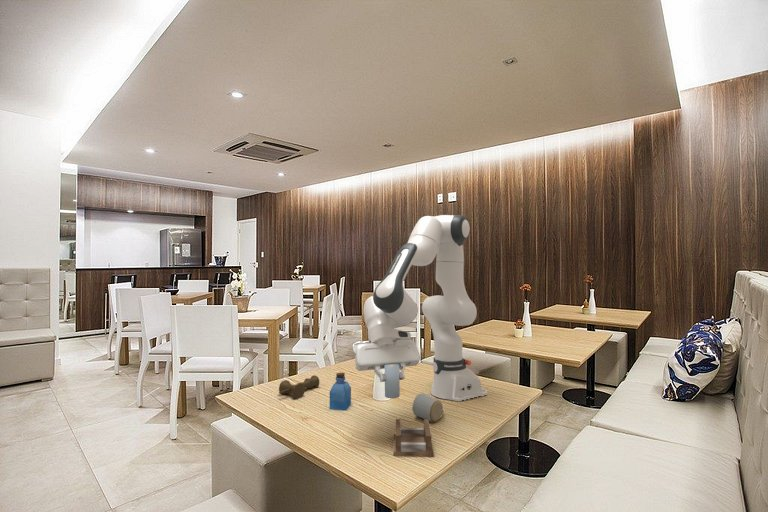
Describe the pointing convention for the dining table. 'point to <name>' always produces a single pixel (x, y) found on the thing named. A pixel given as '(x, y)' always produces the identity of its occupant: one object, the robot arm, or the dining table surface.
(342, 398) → the perfume bottle
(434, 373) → the robot arm
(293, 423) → the dining table surface
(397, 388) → the paper roll
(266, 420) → the dining table surface
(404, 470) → the dining table surface
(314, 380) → the kendama
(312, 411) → the dining table surface
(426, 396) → the ceramic mug
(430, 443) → the holder
